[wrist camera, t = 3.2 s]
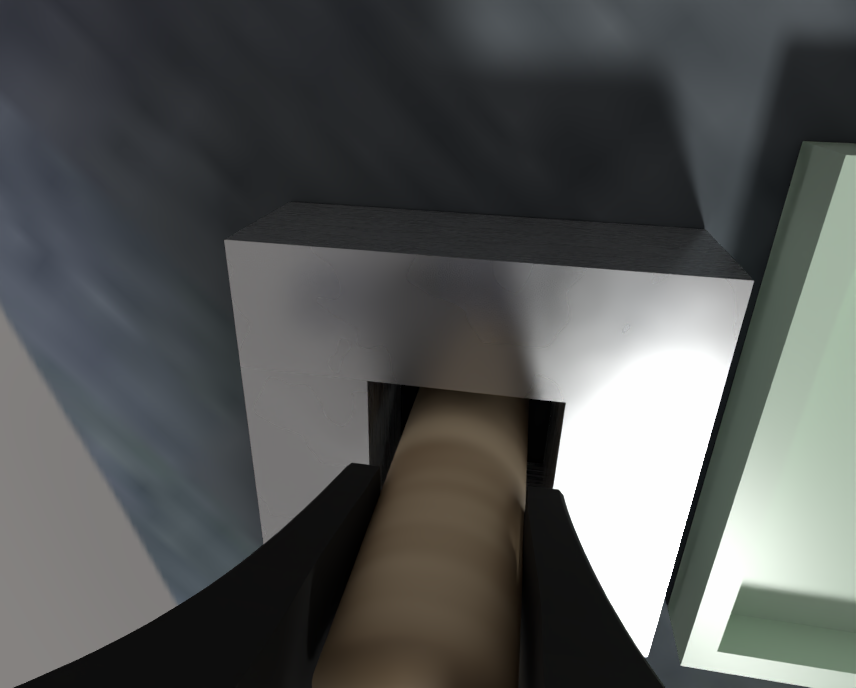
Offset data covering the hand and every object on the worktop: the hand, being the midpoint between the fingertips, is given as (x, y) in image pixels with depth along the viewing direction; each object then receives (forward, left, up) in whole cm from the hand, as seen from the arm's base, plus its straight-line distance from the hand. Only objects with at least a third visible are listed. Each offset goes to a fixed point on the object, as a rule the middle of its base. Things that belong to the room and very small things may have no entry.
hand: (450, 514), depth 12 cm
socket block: (0, 0, -5) cm, 5 cm away
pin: (0, 0, -5) cm, 5 cm away
